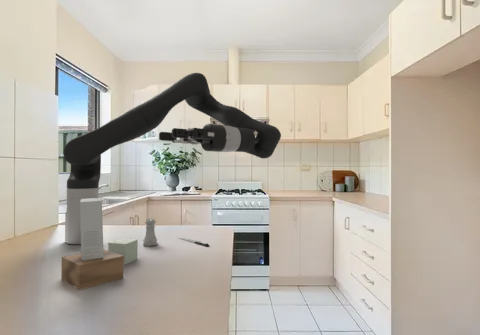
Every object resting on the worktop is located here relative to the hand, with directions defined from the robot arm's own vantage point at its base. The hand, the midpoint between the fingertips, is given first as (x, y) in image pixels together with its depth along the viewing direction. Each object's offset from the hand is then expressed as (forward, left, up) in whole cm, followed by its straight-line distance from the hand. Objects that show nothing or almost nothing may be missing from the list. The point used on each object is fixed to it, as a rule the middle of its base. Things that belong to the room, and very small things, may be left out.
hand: (165, 134), depth 80 cm
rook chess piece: (-17, +12, -32) cm, 38 cm away
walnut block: (-4, -17, -32) cm, 37 cm away
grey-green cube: (-10, -4, -32) cm, 34 cm away
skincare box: (-5, -17, -28) cm, 33 cm away
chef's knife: (-9, +23, -33) cm, 41 cm away
